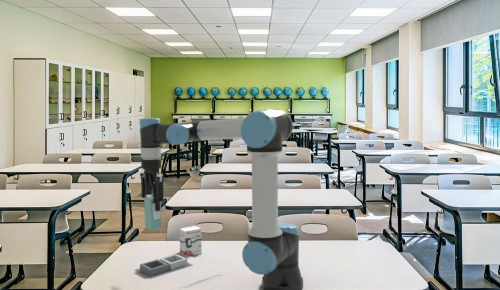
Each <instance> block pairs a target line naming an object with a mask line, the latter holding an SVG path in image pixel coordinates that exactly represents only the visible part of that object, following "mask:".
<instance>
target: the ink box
mask: <svg viewBox="0 0 500 290" xmlns="http://www.w3.org/2000/svg"><path fill="white" fill-rule="evenodd" d="M178 231H179V232H178V233H179V234H178V235H179V252H180V253H181V254H182V255H184V256H185V255H187V256H189V257H193V256H197V255H202V254H203V252H202V228H200V227H199V226H198V225H191V226H186V227H182V228H179V230H178Z"/></svg>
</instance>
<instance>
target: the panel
mask: <svg viewBox="0 0 500 290" xmlns="http://www.w3.org/2000/svg"><path fill="white" fill-rule="evenodd" d="M193 266H194V265H193V264H192V263H189V262H188V258H186V257H184V256H182V255H179V254H177V253H175V254H170V255H168V256H165V257H164V256H163V257H161V258H159V259H154V260H150V261H147V262H143V263H140V264H139V268H137V269H134V271H135V272H137V273H138V274H140V275H143V277H146V278H148V279H149V280H151V279H155V278H157V277H160V276H163V275H167V274H171V273H174V272H176V271H179V270H180V271H181V270H183V269H186V268H188V267H193Z"/></svg>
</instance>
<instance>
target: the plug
mask: <svg viewBox="0 0 500 290" xmlns="http://www.w3.org/2000/svg"><path fill="white" fill-rule="evenodd" d="M143 199H144V200H143V201H144V228H145V229H148V230H149V231H154V230H158V229H162V207H161V206H162V204H161V203H162V202H160V219H156V220H153V203H152V202H154V199H153V194H151V195H146V197H144V198H143Z"/></svg>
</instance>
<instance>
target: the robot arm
mask: <svg viewBox="0 0 500 290" xmlns="http://www.w3.org/2000/svg"><path fill="white" fill-rule="evenodd" d="M139 122H140V123H139V124H140V125H139V134H140V135H139V136H140V158H141V160H140V161H141V163H140V166H141V167H140V168H141V169H142V170H143V172H140V174H139V177H140V188H141V189H140V190H141V193H140V194H141V199H144V197H146V195H152V196H153V199H154V202H152V203H153V220H156V219H160V202H161V203H162V202H164V179H165V177H164V176H163V175H162V176H161V175H160V171H159V170H160V169H161V168H162V159H161V157H162V149H161V147H162V144H164V145H165V144H166V145H175V146H177V145H184V144H185V143H187V142H196V141H197V142H199V141H215V140H234V139H235V140H237V139H238V140H239V139H241V140H242V141H243V142H244V144H245V145H246V152H247V153H248V155H250V157H251V206H252V208H251V210H252V211H251V212H252V213H251V214H252V215H251V216H252V219H251V221H252V222H251V223H252V224H251V225H252V226H251V227H250V229H249V230H248V231H247V243H246V244H245V245H244V247H243V249H242V255H241V257H242V261H243V263H244V265H245V266H246V267H247V268H248V269H249V271H250V272H252V273H254V274H257V275H259V276H260V275H262V279H261V286H262V287H261V288H262V289H264V290H302V289H303V288H304V278H303V276H302V273H301V270H300V264H299V256H300V255H299V250H300V249H299V248H300V247H299V245H300V232H299V227H298V226H297V225H295V224H291V223H286V222H279V221H278V220H279V207H278V205H279V201H278V200H279V198H278V197H279V196H278V195H279V190H278V186H279V183H278V182H279V181H278V180H279V179H278V178H279V176H278V171H279V168H278V167H279V166H278V162H279V161H278V158H279V157H278V156H279V155H280V154H281V153H283V142H285V141H287V140H288V139H289V138H290V136H291V134H292V132H293V129H294V123H293V120H292V118H291V116H290V115H289V114H288V113H287V112H285V110H282V109H260V110H255V111H251V112H250V113H249V114H247V116H246V117H237V118H236V117H235V118H226V119H225V118H223V119H211V120H201V121H200V120H199V121H197V120H195V121H188V122H177V123H161V119H160V118H159V117H143V118H141V119H140V121H139Z"/></svg>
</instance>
